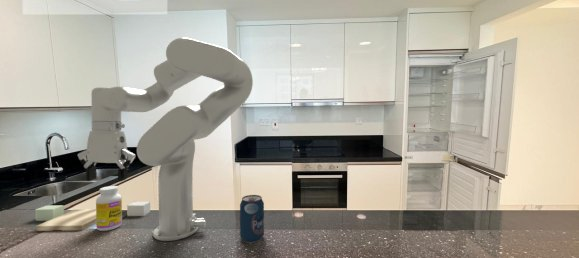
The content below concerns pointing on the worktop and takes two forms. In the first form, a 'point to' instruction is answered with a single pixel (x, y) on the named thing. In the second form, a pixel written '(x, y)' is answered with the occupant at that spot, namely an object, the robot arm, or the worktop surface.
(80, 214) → the birch board
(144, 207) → the white block
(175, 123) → the robot arm
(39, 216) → the green block
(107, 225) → the supplement bottle
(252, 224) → the soda can
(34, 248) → the worktop surface
